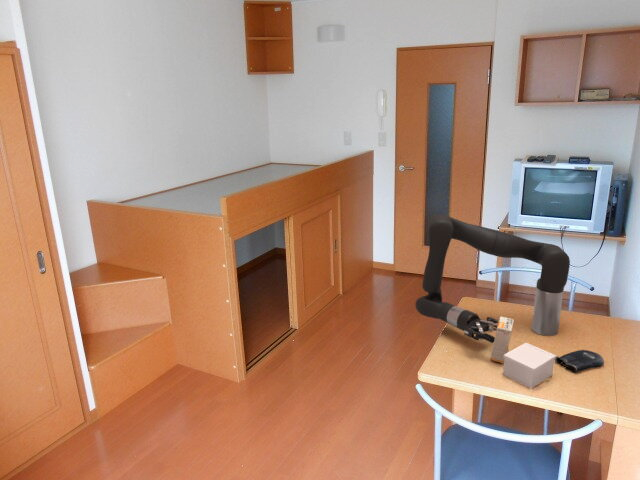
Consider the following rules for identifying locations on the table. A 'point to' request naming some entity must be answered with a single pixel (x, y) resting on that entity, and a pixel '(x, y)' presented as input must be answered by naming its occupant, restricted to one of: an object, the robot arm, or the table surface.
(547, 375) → the storage box
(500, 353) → the supplement box
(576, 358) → the electronic device
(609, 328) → the table surface
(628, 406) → the table surface
